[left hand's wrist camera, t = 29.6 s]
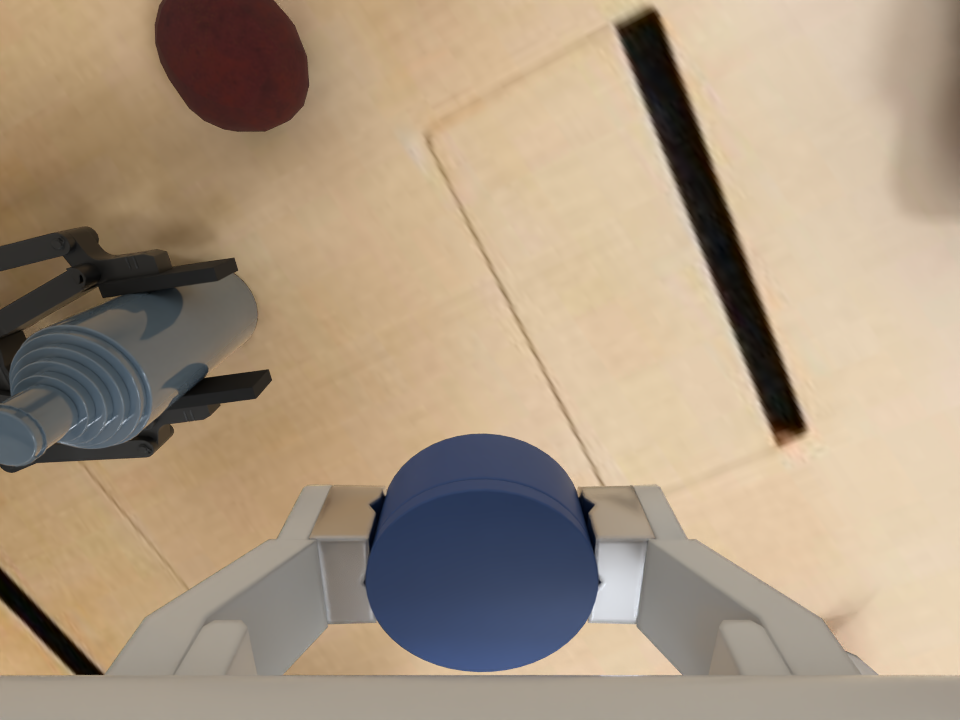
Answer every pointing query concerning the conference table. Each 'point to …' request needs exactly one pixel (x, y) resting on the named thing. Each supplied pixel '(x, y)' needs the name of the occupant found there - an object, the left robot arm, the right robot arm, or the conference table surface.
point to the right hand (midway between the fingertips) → (244, 328)
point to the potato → (233, 61)
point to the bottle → (119, 366)
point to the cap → (481, 555)
